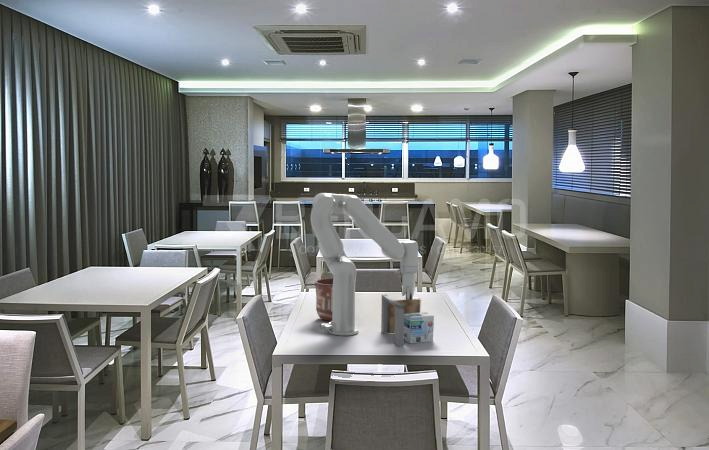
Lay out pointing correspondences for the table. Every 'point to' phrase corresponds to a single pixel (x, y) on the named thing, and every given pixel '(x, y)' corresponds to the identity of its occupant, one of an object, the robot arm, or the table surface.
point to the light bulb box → (418, 327)
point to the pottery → (324, 298)
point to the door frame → (398, 319)
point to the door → (409, 307)
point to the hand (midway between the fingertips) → (409, 311)
